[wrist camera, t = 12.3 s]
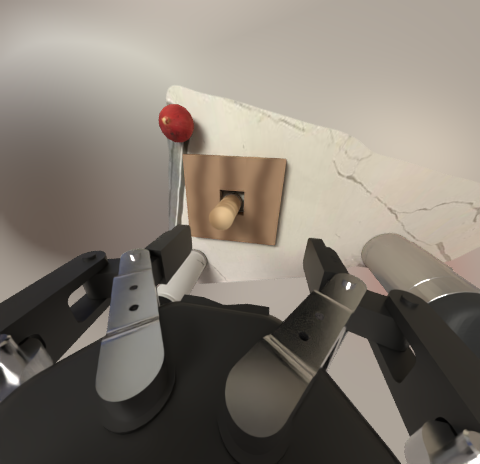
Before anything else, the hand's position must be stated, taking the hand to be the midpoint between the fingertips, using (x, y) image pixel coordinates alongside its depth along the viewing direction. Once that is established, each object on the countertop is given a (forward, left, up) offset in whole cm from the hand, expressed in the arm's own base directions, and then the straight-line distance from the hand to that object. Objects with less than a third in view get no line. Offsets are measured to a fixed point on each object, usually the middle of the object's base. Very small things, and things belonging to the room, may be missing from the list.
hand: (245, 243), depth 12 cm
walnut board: (+6, +5, -28) cm, 29 cm away
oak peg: (+6, +5, -28) cm, 29 cm away
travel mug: (+16, +22, -28) cm, 39 cm away
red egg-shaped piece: (+16, -9, -28) cm, 34 cm away
